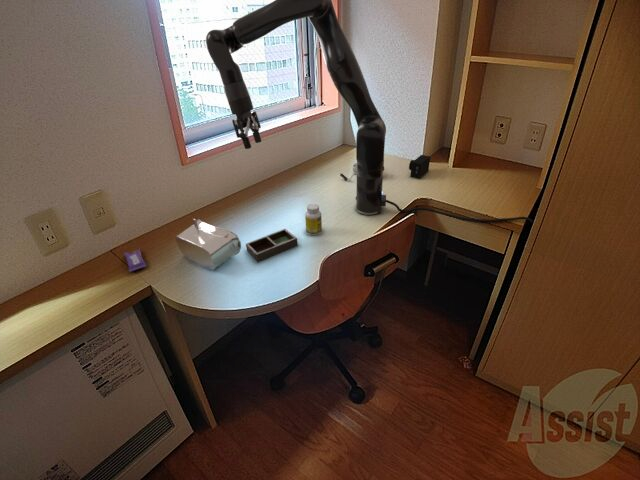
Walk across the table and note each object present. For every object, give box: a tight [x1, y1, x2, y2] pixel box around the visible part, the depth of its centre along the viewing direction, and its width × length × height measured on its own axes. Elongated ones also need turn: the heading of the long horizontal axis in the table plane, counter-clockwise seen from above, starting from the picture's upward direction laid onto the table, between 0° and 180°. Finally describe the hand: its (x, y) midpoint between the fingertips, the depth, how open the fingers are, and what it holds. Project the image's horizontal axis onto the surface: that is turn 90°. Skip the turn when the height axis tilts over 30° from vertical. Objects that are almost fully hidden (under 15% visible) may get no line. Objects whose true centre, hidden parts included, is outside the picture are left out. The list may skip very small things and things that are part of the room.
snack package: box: [123, 247, 148, 273], centre depth 111 cm, size 12×2×5 cm
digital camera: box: [408, 154, 431, 180], centre depth 157 cm, size 10×5×7 cm, turn 144°
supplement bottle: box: [304, 203, 323, 236], centre depth 120 cm, size 5×5×10 cm
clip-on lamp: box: [339, 162, 385, 182], centre depth 158 cm, size 12×6×18 cm
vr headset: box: [175, 217, 242, 271], centre depth 109 cm, size 18×11×14 cm, turn 55°
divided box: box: [245, 228, 299, 263], centre depth 114 cm, size 8×14×3 cm, turn 125°
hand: (253, 145), depth 126 cm, fingers open, 8 cm apart
